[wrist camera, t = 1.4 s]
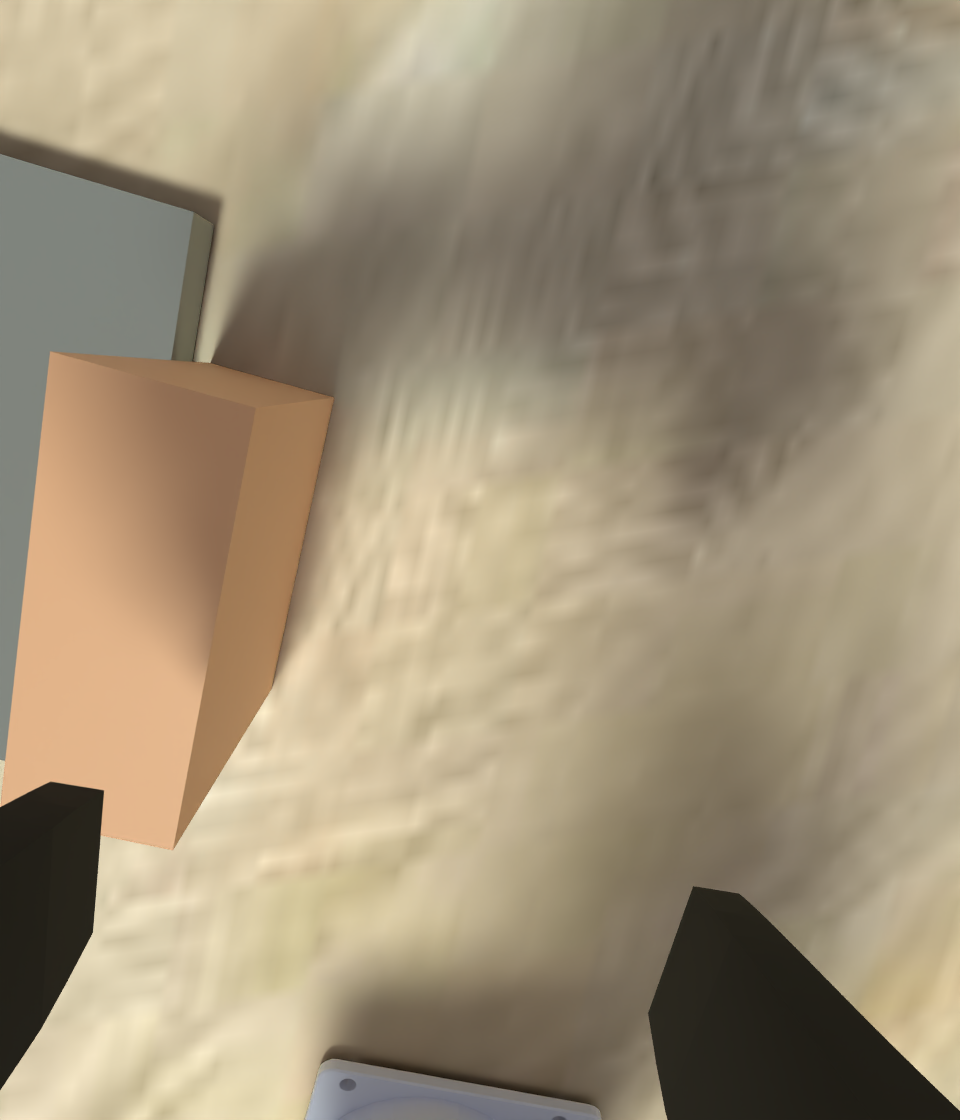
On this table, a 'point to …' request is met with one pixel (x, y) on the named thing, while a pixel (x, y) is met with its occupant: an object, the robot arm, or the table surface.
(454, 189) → the table surface
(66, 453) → the slab
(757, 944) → the robot arm
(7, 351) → the grey tray
